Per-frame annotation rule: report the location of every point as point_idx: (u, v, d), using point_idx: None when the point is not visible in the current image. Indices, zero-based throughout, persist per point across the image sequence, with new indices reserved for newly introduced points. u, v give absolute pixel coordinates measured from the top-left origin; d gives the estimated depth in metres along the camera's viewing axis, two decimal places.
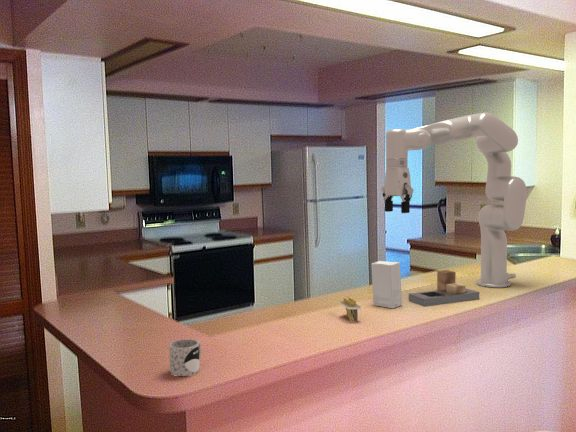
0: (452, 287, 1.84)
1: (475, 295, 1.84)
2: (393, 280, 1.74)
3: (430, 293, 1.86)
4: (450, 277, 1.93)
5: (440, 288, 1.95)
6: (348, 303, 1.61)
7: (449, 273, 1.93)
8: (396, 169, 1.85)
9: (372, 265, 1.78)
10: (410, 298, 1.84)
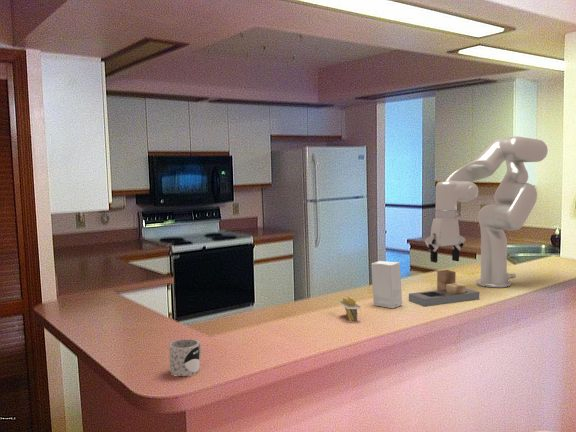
0: (452, 287, 1.84)
1: (475, 295, 1.84)
2: (393, 280, 1.74)
3: (430, 293, 1.86)
4: (450, 277, 1.93)
5: (440, 288, 1.95)
6: (348, 303, 1.62)
7: (449, 273, 1.93)
8: (456, 220, 1.93)
9: (372, 265, 1.78)
10: (410, 298, 1.84)
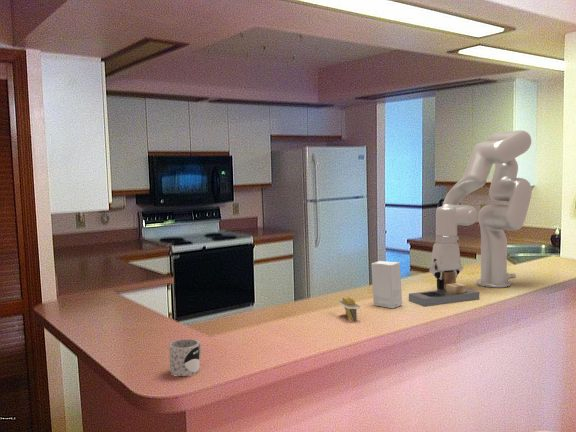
0: (452, 287, 1.84)
1: (475, 295, 1.84)
2: (393, 280, 1.74)
3: (430, 293, 1.86)
4: (450, 277, 1.93)
5: None
6: (347, 302, 1.62)
7: (449, 273, 1.93)
8: (456, 245, 1.94)
9: (372, 265, 1.78)
10: (410, 298, 1.84)
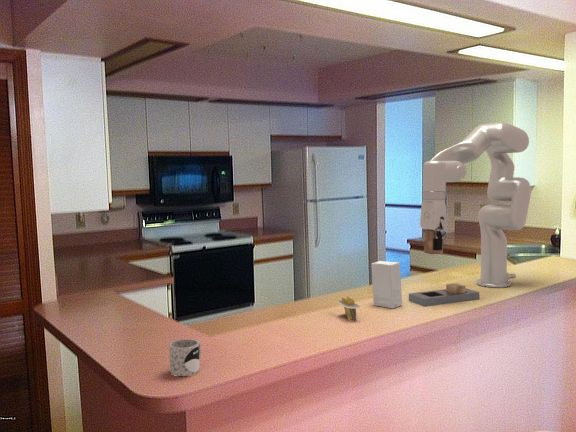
0: (452, 287, 1.84)
1: (475, 295, 1.84)
2: (393, 280, 1.74)
3: (430, 293, 1.86)
4: None
5: None
6: (347, 302, 1.62)
7: None
8: None
9: (372, 265, 1.78)
10: (410, 298, 1.84)
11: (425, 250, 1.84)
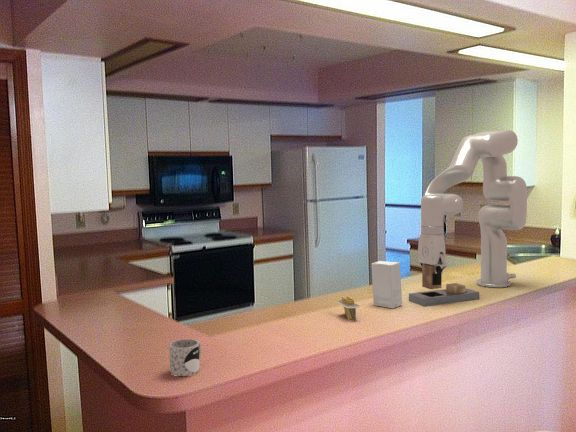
0: (452, 287, 1.84)
1: (475, 295, 1.84)
2: (393, 280, 1.74)
3: (430, 293, 1.86)
4: None
5: None
6: (346, 302, 1.63)
7: None
8: None
9: (372, 265, 1.78)
10: (410, 298, 1.84)
11: (423, 284, 1.83)
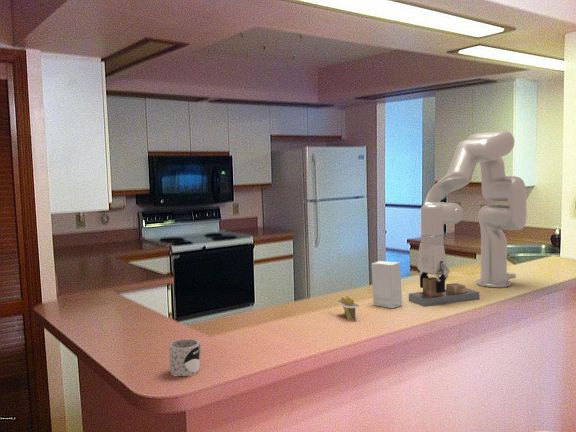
0: (452, 287, 1.84)
1: (475, 295, 1.84)
2: (393, 280, 1.74)
3: None
4: None
5: None
6: (346, 302, 1.63)
7: None
8: None
9: (372, 265, 1.78)
10: (410, 298, 1.84)
11: None
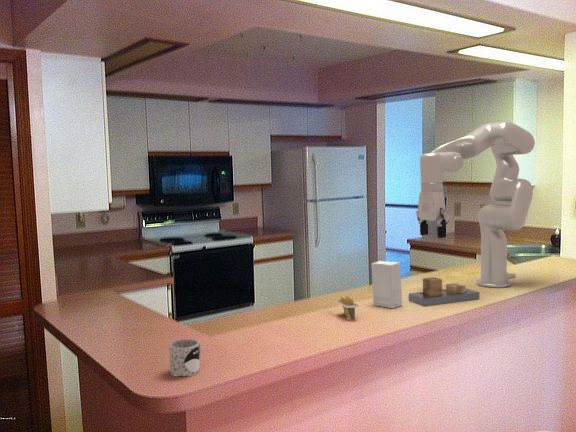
0: (452, 287, 1.84)
1: (475, 295, 1.84)
2: (393, 280, 1.74)
3: None
4: None
5: None
6: (345, 302, 1.63)
7: None
8: None
9: (372, 265, 1.78)
10: (410, 298, 1.84)
11: None
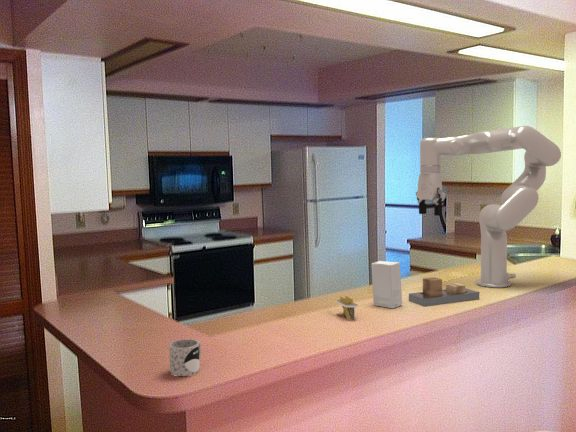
0: (452, 287, 1.84)
1: (475, 295, 1.84)
2: (393, 280, 1.74)
3: None
4: None
5: None
6: (345, 301, 1.64)
7: None
8: None
9: (372, 265, 1.78)
10: (410, 298, 1.84)
11: None
